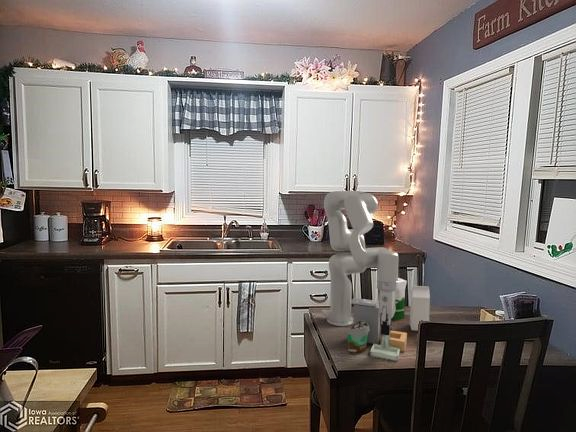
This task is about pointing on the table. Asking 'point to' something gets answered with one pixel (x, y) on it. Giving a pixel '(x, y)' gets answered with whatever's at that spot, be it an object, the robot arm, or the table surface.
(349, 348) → the food container
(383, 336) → the pin
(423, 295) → the milk carton
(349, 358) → the table surface
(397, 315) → the soya milk
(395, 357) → the tray
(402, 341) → the hitch
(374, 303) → the keeper plate
